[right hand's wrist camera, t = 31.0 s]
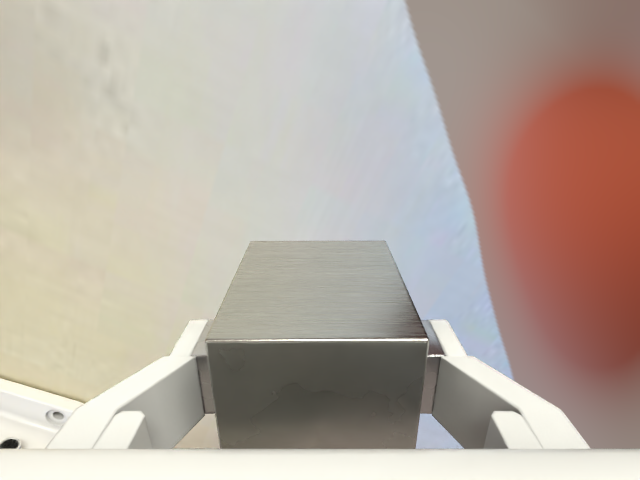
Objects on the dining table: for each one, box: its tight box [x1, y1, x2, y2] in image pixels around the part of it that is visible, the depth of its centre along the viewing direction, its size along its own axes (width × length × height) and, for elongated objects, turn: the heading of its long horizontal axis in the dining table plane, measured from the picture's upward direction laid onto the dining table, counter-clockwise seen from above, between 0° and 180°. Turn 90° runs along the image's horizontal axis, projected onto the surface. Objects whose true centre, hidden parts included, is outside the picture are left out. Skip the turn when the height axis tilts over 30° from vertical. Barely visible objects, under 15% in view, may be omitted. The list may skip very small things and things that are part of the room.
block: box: [205, 241, 430, 449], centre depth 10 cm, size 4×5×5 cm
